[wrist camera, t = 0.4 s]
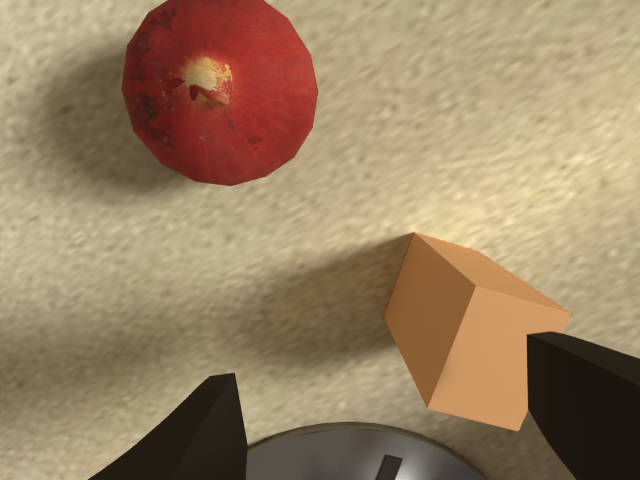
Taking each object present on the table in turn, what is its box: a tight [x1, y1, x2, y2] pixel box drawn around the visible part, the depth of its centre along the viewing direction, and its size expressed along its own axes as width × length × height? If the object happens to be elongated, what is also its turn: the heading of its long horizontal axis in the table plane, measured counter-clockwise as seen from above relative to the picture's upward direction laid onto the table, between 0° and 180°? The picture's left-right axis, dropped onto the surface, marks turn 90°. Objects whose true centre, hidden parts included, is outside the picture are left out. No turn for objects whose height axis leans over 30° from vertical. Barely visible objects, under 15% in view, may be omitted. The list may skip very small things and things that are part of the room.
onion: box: [122, 0, 318, 186], centre depth 15 cm, size 6×6×8 cm
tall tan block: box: [384, 232, 571, 432], centre depth 17 cm, size 3×4×7 cm
